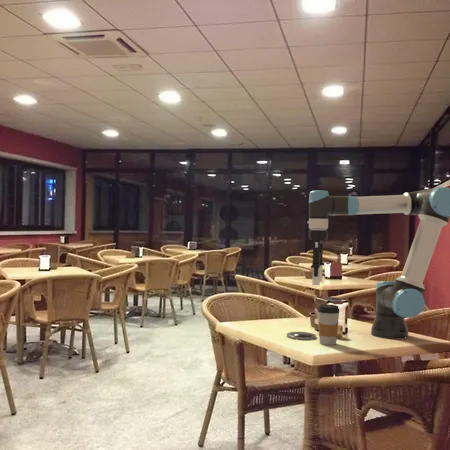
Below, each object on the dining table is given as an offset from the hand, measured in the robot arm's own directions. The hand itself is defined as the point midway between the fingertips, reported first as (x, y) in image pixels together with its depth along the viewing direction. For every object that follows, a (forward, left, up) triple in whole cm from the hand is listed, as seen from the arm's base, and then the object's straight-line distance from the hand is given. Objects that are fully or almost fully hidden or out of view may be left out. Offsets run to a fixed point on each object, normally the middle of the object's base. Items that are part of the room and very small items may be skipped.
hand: (317, 283), depth 209 cm
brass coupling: (-8, -11, -23) cm, 27 cm away
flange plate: (+6, -7, -23) cm, 25 cm away
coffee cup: (-5, +3, -23) cm, 24 cm away
